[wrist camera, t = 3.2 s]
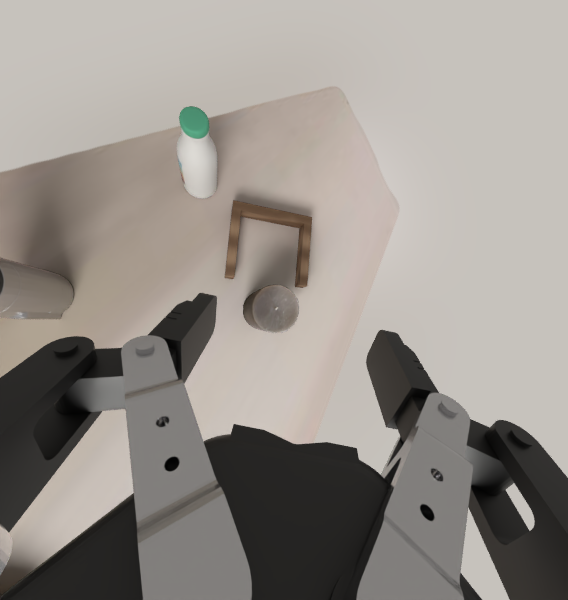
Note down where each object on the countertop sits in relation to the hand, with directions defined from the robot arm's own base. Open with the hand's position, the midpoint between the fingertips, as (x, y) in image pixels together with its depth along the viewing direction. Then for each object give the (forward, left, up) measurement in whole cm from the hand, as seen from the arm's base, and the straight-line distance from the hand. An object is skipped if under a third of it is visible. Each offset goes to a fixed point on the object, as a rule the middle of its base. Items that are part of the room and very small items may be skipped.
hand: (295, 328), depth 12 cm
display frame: (+18, -8, -48) cm, 52 cm away
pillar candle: (+3, -8, -48) cm, 49 cm away
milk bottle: (+32, +10, -48) cm, 59 cm away
